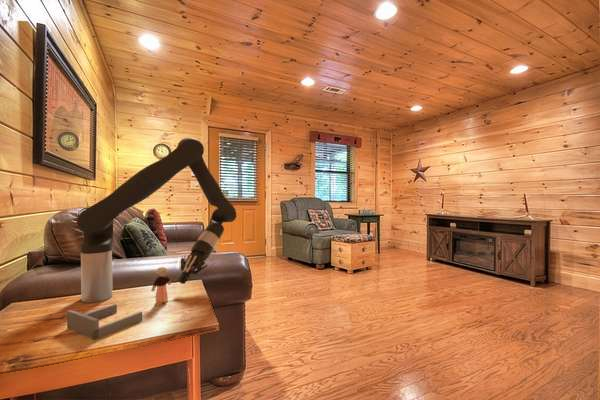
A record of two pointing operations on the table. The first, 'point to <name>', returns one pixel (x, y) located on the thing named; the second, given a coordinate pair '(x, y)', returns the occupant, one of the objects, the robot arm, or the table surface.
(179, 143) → the robot arm
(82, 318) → the charcoal bay
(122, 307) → the table surface
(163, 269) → the grandmother figurine
